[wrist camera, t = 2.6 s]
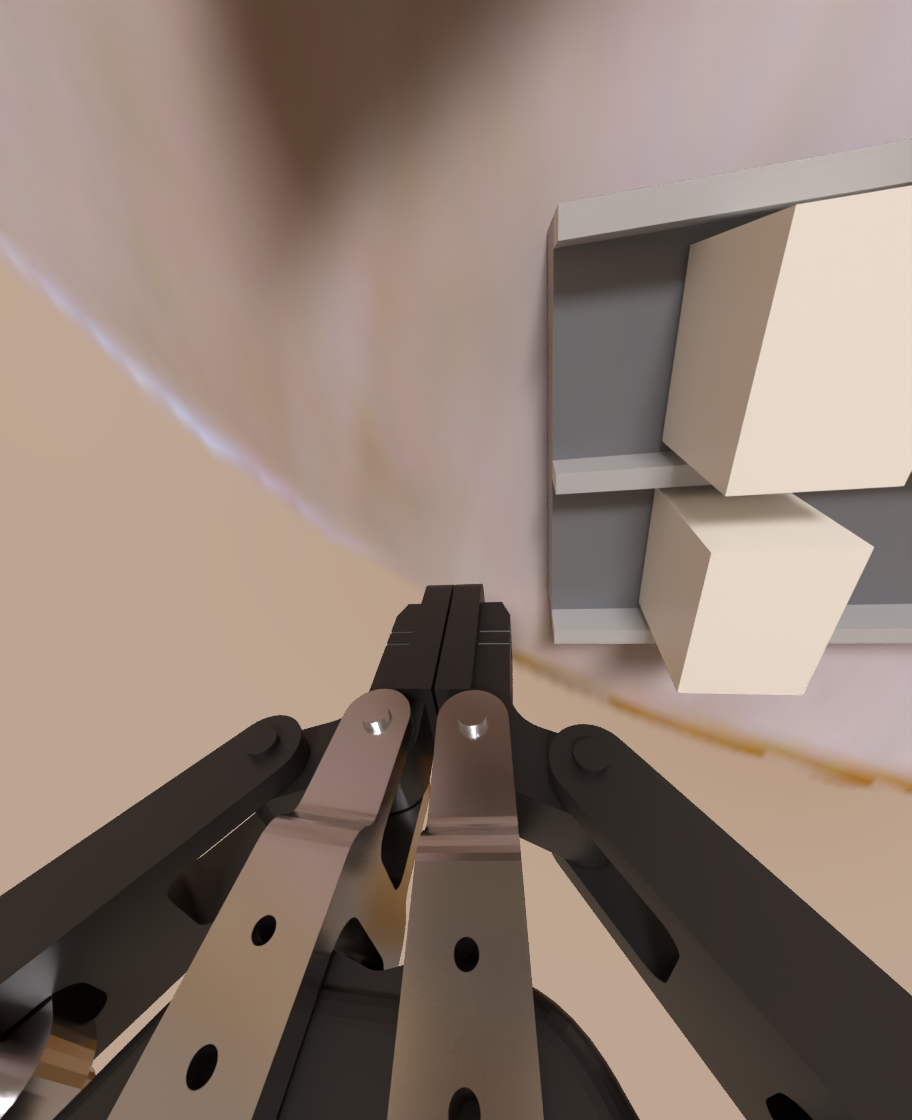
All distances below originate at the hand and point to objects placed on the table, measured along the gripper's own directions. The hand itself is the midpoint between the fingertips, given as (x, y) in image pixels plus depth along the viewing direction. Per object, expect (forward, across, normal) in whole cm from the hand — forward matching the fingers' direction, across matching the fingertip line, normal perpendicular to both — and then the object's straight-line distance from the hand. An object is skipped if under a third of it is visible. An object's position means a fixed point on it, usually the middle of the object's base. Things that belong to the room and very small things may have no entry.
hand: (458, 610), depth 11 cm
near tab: (+3, -7, -6) cm, 10 cm away
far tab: (+3, -7, 0) cm, 8 cm away
